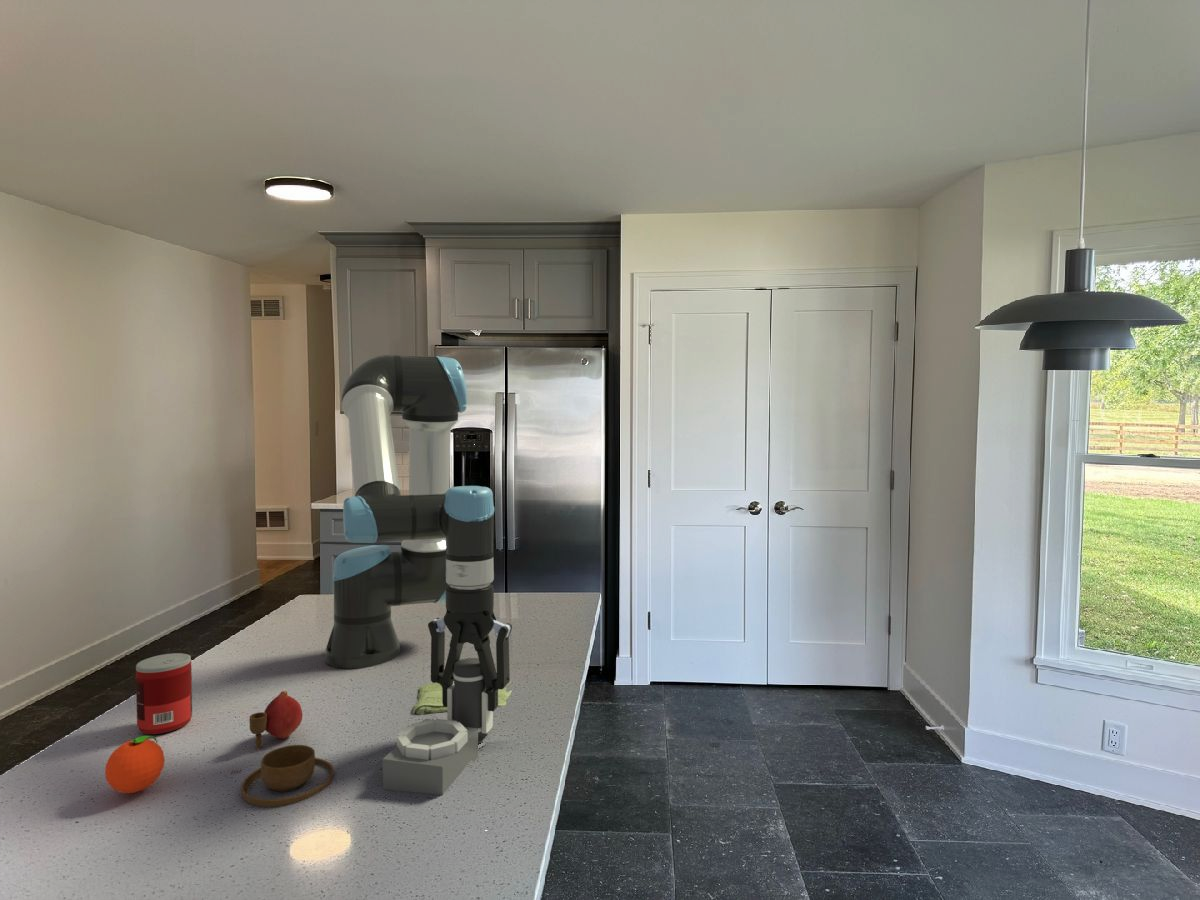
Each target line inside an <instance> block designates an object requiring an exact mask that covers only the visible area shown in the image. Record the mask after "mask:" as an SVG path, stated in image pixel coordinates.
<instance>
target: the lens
mask: <svg viewBox="0 0 1200 900" xmlns="http://www.w3.org/2000/svg"><path fill="white" fill-rule="evenodd" d="M453 677H454V681H453V682H454V721H457V722H460V723H461V724H462V725H463V726H464V727H470V728H478V741H479V740H481V739H483V738H484V737H485V736H486V735H487V733H486V734H485V733H482V692H483V691H484V690H485V689H486V686H485V682H484V678H483V674H482V670H481V666H480V662H479V658H478V657H468V658H467V657H466V658H462V659H460V660H459V661H457V662H456V663H455V664H454V673H453ZM483 742H484V741H481V742H478V745H479V744H481V743H483Z"/></svg>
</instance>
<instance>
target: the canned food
mask: <svg viewBox="0 0 1200 900" xmlns="http://www.w3.org/2000/svg"><path fill="white" fill-rule="evenodd" d="M191 657H192V656H191V655H190V654H187V653H181V652H177V653H175V652H174V653H173V652H172V653H166V654H160V655H155V656H152V657H148V658H145V659H143V660H140V661H139V662H137V664H135V698H136V699H135V700H136V701H135V702H136V724H137V725H136V726H137V728H138V731H139V732H140V733H142V734H145V735H156V734H157V735H158V734H165V733H168V732H172V731H176V730H178V729H181V728H183V727H185V726H186V725H188V724H189V723H190V722H191V720H192V717H193V685H192V684H193V681H192V680H193V678H192V675H193V671H192V659H191Z"/></svg>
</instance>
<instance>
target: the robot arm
mask: <svg viewBox="0 0 1200 900" xmlns="http://www.w3.org/2000/svg"><path fill="white" fill-rule="evenodd" d="M467 394H468V393H467V385H466V379H465V374H464V372H463V368H462V366H461V364H460V362H459V361H458V360H457V359H455V358H452V357H445V356H438V355H435V356H434V355H432V356H431V355H430V356H429V355H397V354H396V355H395V354H381V355H378V356H373V357H372V358H369V359H368V360H365V361H364V362H362V363H361V364H360V365H359V366H358V367H356V368H355V369H354V370H353V372H352V373H351V374H350V375H349V376H348V378H347V380H346V381H345V383H344V385H343V389H342V393H341V406H342V411H343V414H344V415H345V416H346V418H348V427H349V428H348V429H349V441H350V455H351V467H352V468H351V470H352V483H353V495H354V496H352V497H351V496H350V497H349V496H348V497H346V498H345V499H344V501H343V505H342V508H343V509H342V510H343V511H342V513H343V514H342V515H343V516H342V521H343V536H344V537H343V538H344V539H345V541H347V542H348V543H353V544H356V543H357V544H358V543H359V544H360V543H361V544H362V543H363V544H365V543H366V544H374V545H367V546H362V547H357V548H353V549H349V550H346V551H344V552H342V553H340V554H339V555H337V556H336V558H335V560H334V561H333V575H332V576H331V577H332V578H331V579H332V581H333V626H332V629H331V632H330V635H329V638H328V641H327V644H326V648H325V653H324V654H325V655H324V656H325V658H324V659H325V663H326V664H327V665H329V666H331V667H335V668H338V669H339V668H340V669H366V668H371V667H376V666H380V665H382V664H385V663H387V662H390V661H392V660H394V659H396V657H398V656H399V655H400V652H401V648H400V640H399V638H398V634H397V632H396V630H395V629H396V628H395V626H394V623H393V620H392V607H397V606H409V605H418V604H419V605H421V604H431V603H432V604H438V603H439V602H445V609H446V612H445V614H444V616H443V617H442V618H440V617H436V618H434V619H432V620H431V621H430V622H428V624H427V628H428V631H429V635H430V637H431V638H430V640H431V641H430V681H431V683H432V682H433V683H436V682H437V683H439V684H440V685H441V686H442V699H443V700H442V703H443V706H447V712H446V713H447V714H446V715H447V716H446V717H447V718H446V720H452V721H454V684H453V682H454V677H453V673H454V664H455V663H456V662H457V661H459V660H461V655H462V651H463V647H464V644H465V643H468V644H471V645H473V648H474V650H475V651H476V654H477V658H478V659H479V662H480V666H481V670H482V674H483V678H484V682H485V686H486V689H485V690H484V691H483V692H482V733H485V734H486V735H487V734H488V732H489V731H490V730H491V729H492V728H493V727H494V712H495V711H496V710H497V708H498V707H497V706H498V689H503V688H506V686H508V685H509V684H510V683H509V682H511V680H510V676H511V675H510V639H509V638H510V636H511V632H512V629H513V625H512V624H511V623H509V622H507V623H502V622H501V621H499V620H497V617H496V616H495V613H494V605H495V604H494V603H495V601H494V599H495V597H494V596H495V595H494V594H495V593H494V592H495V589H494V585H493V584H492V583H493V581H494V579H495V571H494V569H495V568H494V564H495V563H494V524H495V523H494V516H495V514H494V513H495V510H496V508H495V506H494V493H493V491H492V489H491V488H489V487H487V486H480V485H461V486H453V487H450V479H451V478H450V476H451V475H450V474H451V473H450V471H451V434H452V433H451V431H452V430H451V429H452V427H454V425H455V424H456V423H457V422H459V413H464V412H465V411H466V410H467V402H468V397H467ZM392 412H401V414H402V415H401V420H402V422H404V423H405V424H406V425H407V426H408V429H409V439H408V440H409V441H408V443H409V446H408V447H409V449H408V451H409V453H408V454H409V456H408V457H409V460H408V461H409V463H408V464H409V465H408V466H409V467H408V494H403V495H401V488H400V479H399V473H398V466H397V465H398V464H397V457H396V452H395V451H396V450H395V444H394V437H393V430H392V422H391V414H392ZM397 541H401V543H400V544H401V545H400V551H392V549H391V546H389V545H387V544H380V545H375V543H382V542H383V543H384V542H397ZM446 627H447V628H446ZM446 629H448V631H449V633H450V634H451V638H450V641H449V644H448V645H449V650H448V655H447V659H446V661H445V658H446V657H445V656H446V655H445V654H446V653H445V651H446V649H445V648H446V646H445V645H446V634H445V631H446ZM492 630H494V636H495V637H496V641H495V644H496V645H495V653H496V655H495V656H496V657H495V658H496V660H495V661H496V665H495V661H494V657H493V654H492V649H491V640H490V636H489V634H490V633H491V631H492ZM445 662H446V663H445ZM508 683H509V684H508ZM507 684H508V685H507Z"/></svg>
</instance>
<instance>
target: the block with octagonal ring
mask: <svg viewBox="0 0 1200 900" xmlns="http://www.w3.org/2000/svg"><path fill="white" fill-rule="evenodd" d="M478 743H479V740H478V728H470V727H464V726H463V725H462V724H461V723H460V722H457V721H452V720H447V719H443V718H435V719H434V718H425V719H423V720H422V721H418V722H414V723H411V724H409V725H407V726H406V727H405V728H404V729H402V731H400V732H399V733H398V734H397V735H396V746H395V747H394V748H393V749H392V750H391V751H390V752H389V753H387V754H386V755H385V756H384V757H383V758H382V790H391V791H392V790H393V791H402V792H409V793H410V792H412V793H419V794H420V793H421V794H429V795H438V796H443V795H444V794H445V793H446V792H447V791H448V789H449V788H450V787H451V785H453V783H454V782H455V781H456V780H457V779H458V777H459V776H460V775H461V773H462V772H463V771H464V770H465V769H466V768H467V766H468V765H469V764H470V763H471V761H472V762H473V763H474V762H475V760H476V759H477V758H478V759H479V749H478Z"/></svg>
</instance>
